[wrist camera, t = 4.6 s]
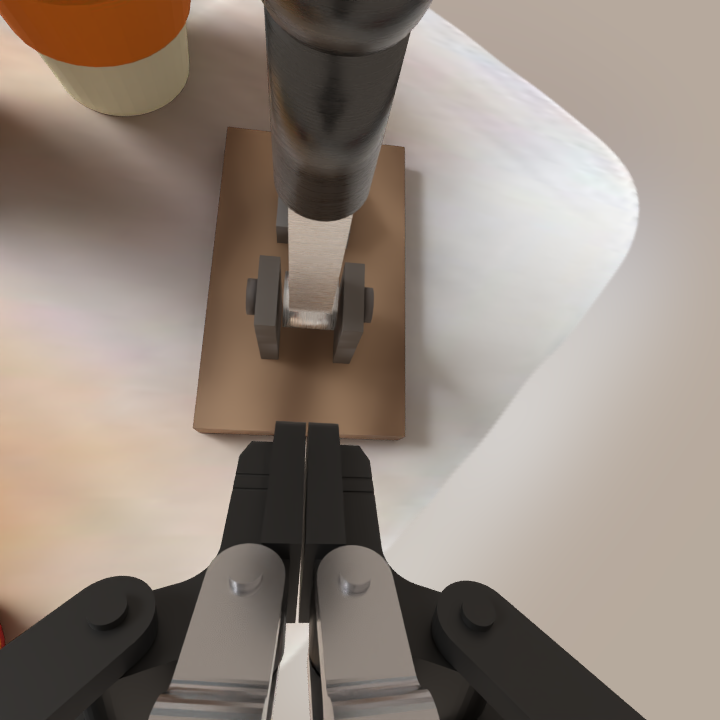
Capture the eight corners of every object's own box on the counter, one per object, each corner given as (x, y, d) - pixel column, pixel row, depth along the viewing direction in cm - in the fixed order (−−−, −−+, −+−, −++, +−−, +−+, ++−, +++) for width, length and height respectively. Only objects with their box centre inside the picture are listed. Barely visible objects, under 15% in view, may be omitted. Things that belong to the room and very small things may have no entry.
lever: (272, 341, 25) (217, -132, 6) (277, 277, 26) (241, -301, 7) (342, 345, 26) (488, -84, 7) (344, 282, 27) (477, -250, 8)
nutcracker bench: (199, 432, 29) (166, 409, 21) (231, 147, 34) (214, 47, 27) (397, 440, 31) (433, 421, 23) (398, 165, 36) (427, 76, 28)
